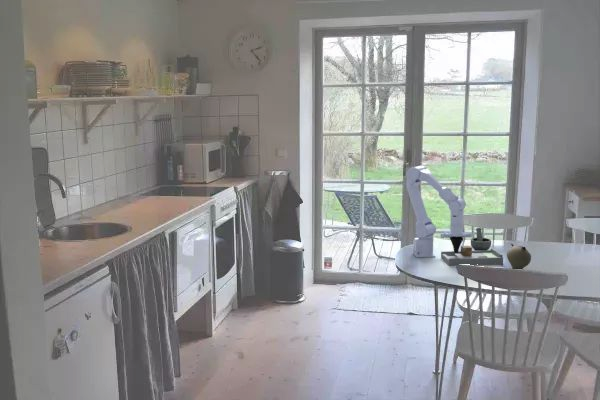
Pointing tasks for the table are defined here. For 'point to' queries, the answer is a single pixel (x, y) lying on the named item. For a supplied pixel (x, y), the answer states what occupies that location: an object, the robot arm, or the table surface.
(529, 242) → the table surface
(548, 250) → the table surface
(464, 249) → the block
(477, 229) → the mortar and pestle
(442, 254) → the trap lane
